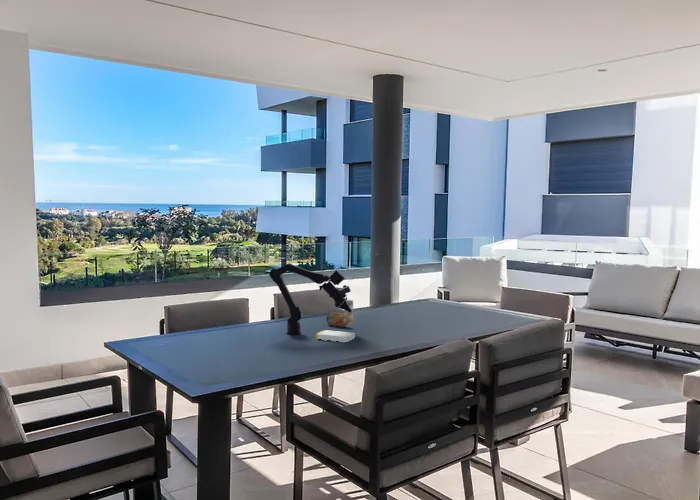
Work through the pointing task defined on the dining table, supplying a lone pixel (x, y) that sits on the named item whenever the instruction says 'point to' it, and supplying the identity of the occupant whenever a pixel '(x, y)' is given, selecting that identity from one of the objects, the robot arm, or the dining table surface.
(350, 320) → the beige tall block
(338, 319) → the tin
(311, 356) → the dining table surface
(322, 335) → the dock
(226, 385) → the dining table surface
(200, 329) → the dining table surface
